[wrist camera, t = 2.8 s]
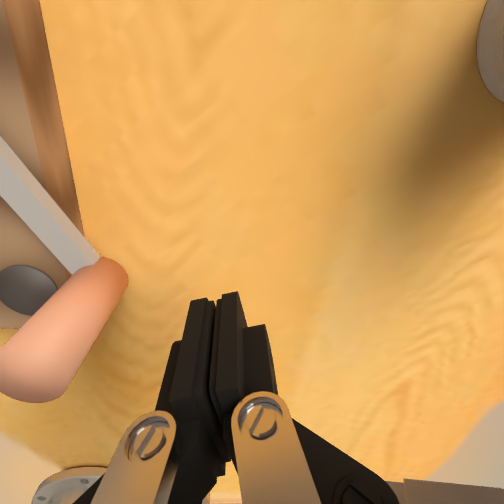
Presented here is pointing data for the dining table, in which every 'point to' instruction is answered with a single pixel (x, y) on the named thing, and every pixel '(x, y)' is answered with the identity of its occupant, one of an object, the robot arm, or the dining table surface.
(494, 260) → the dining table surface
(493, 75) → the grey cylinder with loop
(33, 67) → the wooden peg board
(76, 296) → the crank handle
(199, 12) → the dining table surface
